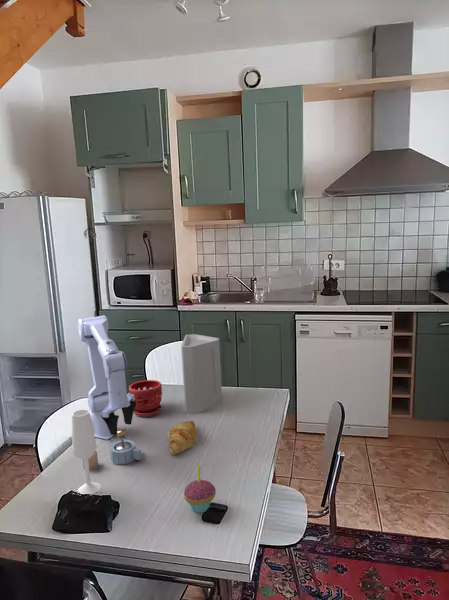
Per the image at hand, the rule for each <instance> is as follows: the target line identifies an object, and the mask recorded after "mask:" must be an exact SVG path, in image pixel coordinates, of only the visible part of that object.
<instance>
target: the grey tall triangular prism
mask: <svg viewBox="0 0 449 600" xmlns="http://www.w3.org/2000/svg"><path fill="white" fill-rule="evenodd" d="M180 351H181V363H182V366H181V367H182V380H183V383H182V384H183V395H184V397H183V398H184V408H185V409H184V410H185V411H184V412H185V414H186V415H195V414H199V413H200V414H201V413H202V412H205V411H207V410H211V409H213V408H215V407H218V406H222V405H223V390H222V389H223V388H222V372H221V371H222V370H221V367H222V366H221V352H220V351H221V349H220V338H219V337H215V336H214V337H213V336H208V335H204V334H202V335H201V334H195V333H192V334H191V333H190V334H185V336H184V338H183V341H182V343H181V346H180Z"/></svg>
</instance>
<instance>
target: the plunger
mask: <svg viewBox="0 0 449 600" xmlns="http://www.w3.org/2000/svg"><path fill="white" fill-rule="evenodd" d="M126 436H127V429H126V428H119V429H118V430H117V435H116V437H117V438H120V441H121V444H118V445H117V446H116V450H118V451H123V450H127V449H129V448H130V444H128V443H124V440H125V439H124V437H126Z"/></svg>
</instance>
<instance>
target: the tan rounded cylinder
mask: <svg viewBox="0 0 449 600" xmlns="http://www.w3.org/2000/svg"><path fill="white" fill-rule="evenodd" d="M98 459H99V458H98V451H96V450H95V452H94V454H93V455H92V456H91V457H90V458H89V459H88V464H89V471H94V470H95V468H96V469H97V468H98V467H99V460H98ZM82 466H83V470H84V469H85V466H84V460H82ZM93 469H94V470H93Z"/></svg>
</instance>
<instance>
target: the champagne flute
mask: <svg viewBox="0 0 449 600" xmlns="http://www.w3.org/2000/svg"><path fill="white" fill-rule="evenodd" d="M71 440H72V441H71V443H72V448H71V450H72V453H73V455H74V456H76V458H78V459H80V460H82V461H83V460H84V466H85V470H84V474H85V483H83V485H81V486H80V487H78V489H77V491H78V492H80V493H81V494H92V493H95V494H97V493H98V492H99V491H100V490H101V489H100V488H102V486H101V484H100V483H99V482H93V481H91V473H90V472H91V471H90V470H89V464H88V459H89V458H90V457H91V456H92V455H93V454H94V452H95V451H96V450H97V447H98V445H97V441H96V437H95V436H94V431H93V427H92V422H91V417H90V409H85V408H83V409H78V410H75V411H73V412H72V413H71ZM78 492H77V493H78ZM96 492H97V493H96Z"/></svg>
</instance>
